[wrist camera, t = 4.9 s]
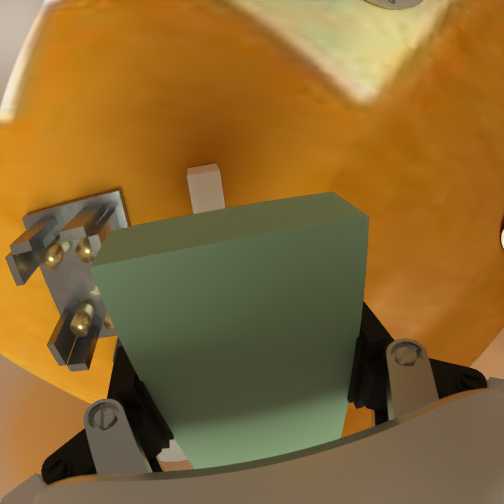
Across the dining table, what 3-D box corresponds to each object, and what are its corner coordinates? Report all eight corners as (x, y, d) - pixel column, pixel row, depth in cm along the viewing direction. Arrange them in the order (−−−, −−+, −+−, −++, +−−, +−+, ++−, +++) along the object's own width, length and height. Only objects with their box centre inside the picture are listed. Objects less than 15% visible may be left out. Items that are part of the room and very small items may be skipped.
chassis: (27, 213, 23) (-8, 241, 17) (121, 188, 24) (101, 211, 19) (76, 335, 29) (60, 377, 24) (160, 322, 30) (156, 368, 25)
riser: (187, 168, 25) (186, 176, 22) (216, 163, 25) (219, 170, 22) (201, 245, 28) (203, 263, 25) (228, 240, 28) (233, 257, 25)
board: (110, 230, 8) (89, 267, 6) (332, 191, 8) (369, 216, 7) (194, 437, 12) (198, 474, 10) (324, 410, 13) (339, 444, 11)
